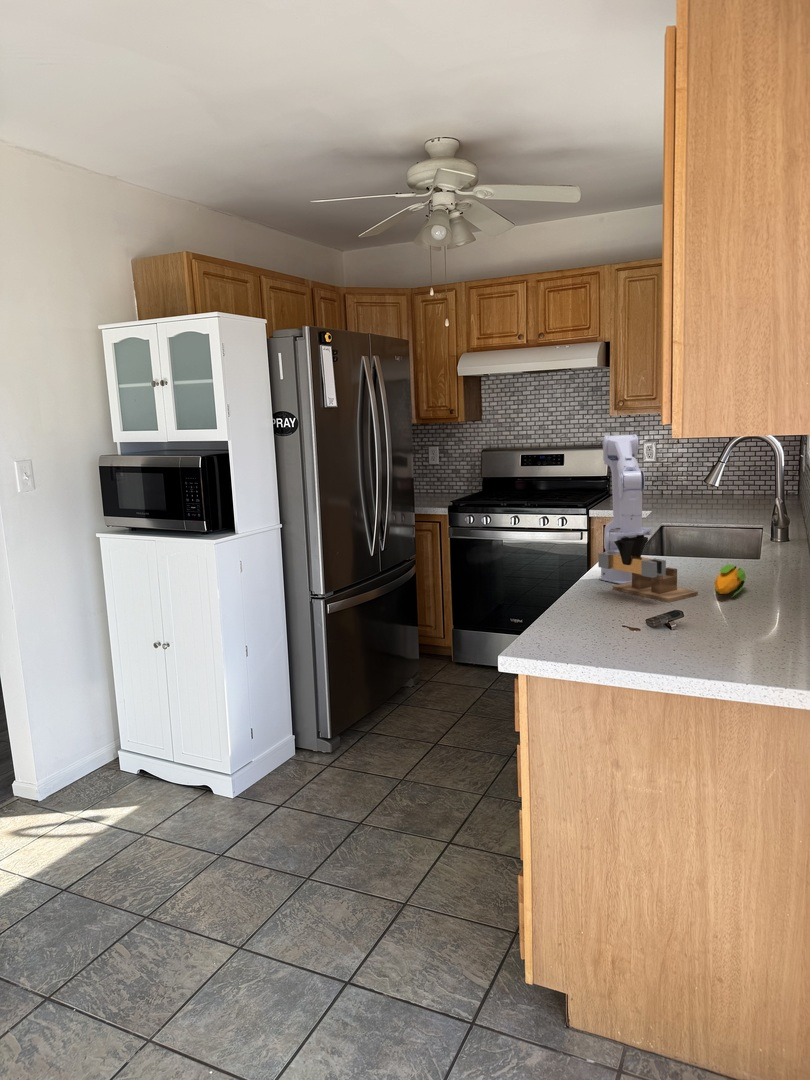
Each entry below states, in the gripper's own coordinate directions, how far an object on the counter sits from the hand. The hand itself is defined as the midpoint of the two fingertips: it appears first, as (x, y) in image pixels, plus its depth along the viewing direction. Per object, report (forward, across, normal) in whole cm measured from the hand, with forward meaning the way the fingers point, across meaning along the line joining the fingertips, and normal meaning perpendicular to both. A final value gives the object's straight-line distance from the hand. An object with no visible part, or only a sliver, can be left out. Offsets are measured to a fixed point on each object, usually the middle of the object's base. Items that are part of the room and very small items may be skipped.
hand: (630, 563), depth 210 cm
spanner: (+2, 0, 0) cm, 2 cm away
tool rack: (+10, +9, 0) cm, 13 cm away
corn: (+10, +23, -14) cm, 29 cm away
